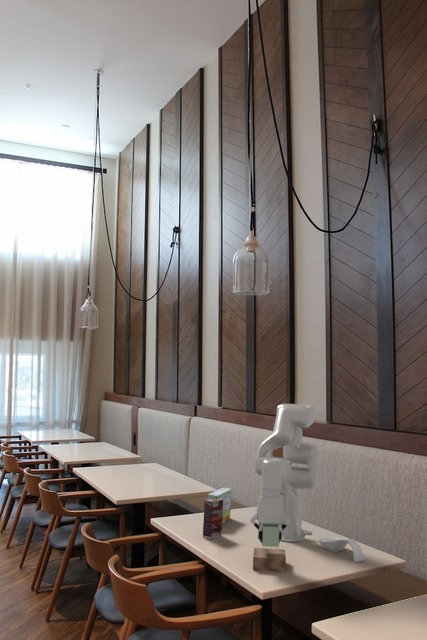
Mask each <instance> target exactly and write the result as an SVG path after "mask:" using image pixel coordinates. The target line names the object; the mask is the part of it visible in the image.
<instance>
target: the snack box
mask: <svg viewBox="0 0 427 640" xmlns="http://www.w3.org/2000/svg"><path fill="white" fill-rule="evenodd" d="M232 492H233V491H232V488H228V487H222V488H219V489H217V490H214V491H213V492H210V493H208V494H207V499H206V500H210V499H214V498H218V499H223V517H222V524H223V523H225V522H227V521H228V520H230V519H231V505H232Z"/></svg>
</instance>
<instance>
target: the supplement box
mask: <svg viewBox="0 0 427 640" xmlns="http://www.w3.org/2000/svg"><path fill="white" fill-rule="evenodd" d="M203 508H204V509H203V522H202V523H203V524H202V525H203V527H202V538H205V539H208V540H211V539H215V538H218V537H220V536H221V537H222V535H223V532H222V531H223V523H222V517H223V499H218V498H214V499H210V500H207V499H205V500H204V504H203Z"/></svg>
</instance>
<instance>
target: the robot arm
mask: <svg viewBox="0 0 427 640" xmlns="http://www.w3.org/2000/svg"><path fill="white" fill-rule="evenodd" d="M315 419H316V409H315V407H314V406H313V405H311V404H298V403H297V404H296V403H281V404H279V405H277V407H276V416H275V419H274V420H275V421H274V425H273V429H272V434H271V435H270V436H269V437H267V438H266V439H265V440H263V441H262V443H261V444H260V445H259V447H258V449H257V453H256V456H255V459H254V460H255V461H254V470H255V473H256V474H258V475H260V476H261V489H260V492H261V493H260V495H258V499H257V506H256V507H257V508H256V513H255V514H254V515H253V516H252V517H251V518H250V519H249V521H250V523H251V524H252V525H253V526H254V527H255V528H256V530H257V531H258V532H257V535H258V536H257V538H258V540H259V542H260V543H261V542H262V538H263V531H262V528H263V525H264V524H277V525H278V526H279V544H280V543H281V541H283V542H288V543H300V542H303V541H305V540H306V539H305V538H306V537H305V536H313V531H312V530H308V529H304V528H302V520H303V518H302V517H303V516H302V514H303V512H302V511H303V498H302V495H301V494H300V492H299V491H298V490H309V491H314V490H316V489H317V488H318V486H319V478H320V477H319V474H320V473H319V471H320V469H319V466H320V465H319V464H320V454H319V447H318V445H316V444H315V443H312V442H303V441H304V440H303V430H302V428H305V429H307V428H310V426H311V425H313V424H314V422H315ZM279 448H282V452H283V453H282V454H283V455H282V456H283V457H279V456H278V457H277V456H276V457H275V456H267V455H268V454H269V453H271V451H274V450H277V449H279ZM292 464H297V465H307V467H304V466H297V465H296V466H294V465H293V466H292ZM256 520H257V522H256Z"/></svg>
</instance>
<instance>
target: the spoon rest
mask: <svg viewBox="0 0 427 640" xmlns="http://www.w3.org/2000/svg"><path fill="white" fill-rule="evenodd" d="M318 543H319V544H320V545H321V547H323V548H324V549H325V550H327V551H329V552H336V553H337V552H341V551H342V550H343V549H344V548H346V547H347V545H348V544H349V546H350V547H351V548H352V554H353V562H354V563H357V562H364V561H365V559H364V554H363V550H362V548H361V547H360V545H359V544H358V542H356V540H354V539H353V538H348V539H345V538H341V537H322V538H319V539H318Z"/></svg>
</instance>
